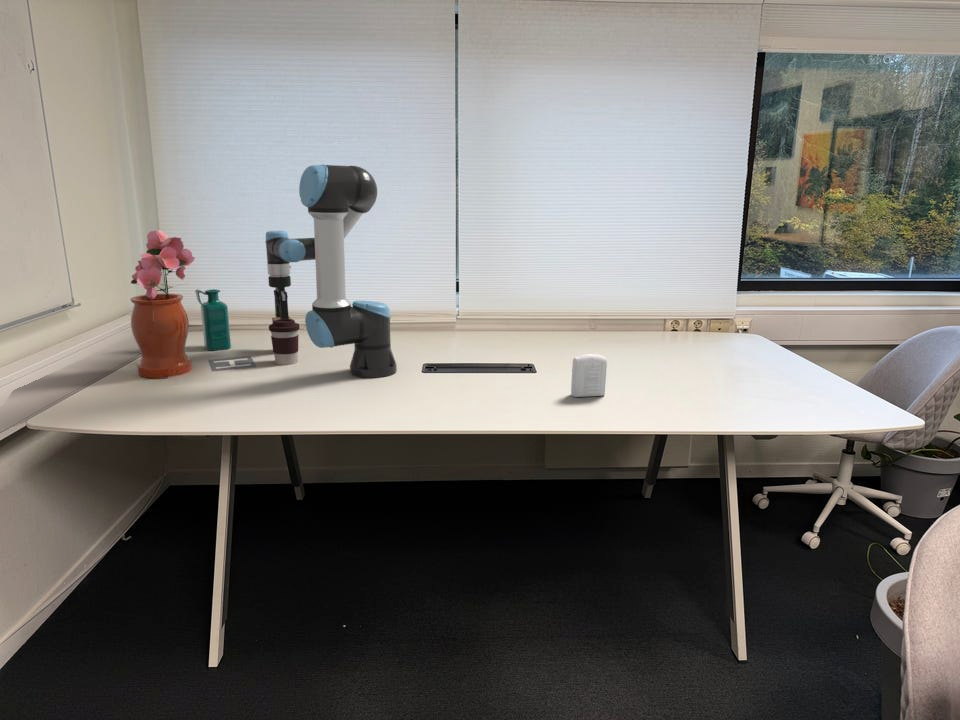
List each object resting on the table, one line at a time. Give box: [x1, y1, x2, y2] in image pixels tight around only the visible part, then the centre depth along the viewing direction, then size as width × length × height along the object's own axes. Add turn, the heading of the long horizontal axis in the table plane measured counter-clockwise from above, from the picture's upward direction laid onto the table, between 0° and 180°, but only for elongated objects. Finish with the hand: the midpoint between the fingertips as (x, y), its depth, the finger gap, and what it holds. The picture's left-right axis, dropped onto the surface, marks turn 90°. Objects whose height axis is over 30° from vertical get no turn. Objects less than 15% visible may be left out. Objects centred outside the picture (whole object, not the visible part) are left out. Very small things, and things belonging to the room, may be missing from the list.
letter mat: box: [208, 355, 257, 372], centre depth 225 cm, size 16×14×1 cm
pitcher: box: [195, 288, 232, 352], centre depth 244 cm, size 10×8×22 cm
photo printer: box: [570, 353, 608, 398], centre depth 194 cm, size 10×4×12 cm, turn 103°
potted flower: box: [130, 229, 195, 379], centre depth 211 cm, size 19×25×45 cm
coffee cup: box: [268, 318, 301, 366], centre depth 225 cm, size 10×10×15 cm
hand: (283, 338), depth 241 cm, fingers closed on walnut block, 6 cm apart
